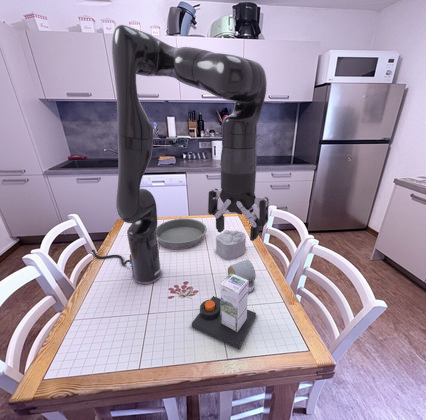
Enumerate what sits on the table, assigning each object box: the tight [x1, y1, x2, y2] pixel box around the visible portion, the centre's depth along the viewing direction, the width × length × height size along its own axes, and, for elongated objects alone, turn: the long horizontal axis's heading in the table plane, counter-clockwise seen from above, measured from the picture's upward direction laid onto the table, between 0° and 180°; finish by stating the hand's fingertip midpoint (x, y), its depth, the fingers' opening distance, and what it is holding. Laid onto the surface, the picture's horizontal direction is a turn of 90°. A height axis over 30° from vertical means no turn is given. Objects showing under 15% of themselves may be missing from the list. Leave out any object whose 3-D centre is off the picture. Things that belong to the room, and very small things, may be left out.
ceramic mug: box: [227, 259, 257, 294], centre depth 83 cm, size 11×8×8 cm
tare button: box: [205, 299, 215, 312], centre depth 70 cm, size 3×3×2 cm
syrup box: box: [219, 273, 250, 332], centre depth 65 cm, size 6×6×14 cm
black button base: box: [191, 295, 257, 350], centre depth 69 cm, size 16×12×4 cm
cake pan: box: [156, 218, 208, 250], centre depth 114 cm, size 25×25×4 cm
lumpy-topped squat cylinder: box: [215, 229, 247, 261], centre depth 103 cm, size 10×13×9 cm
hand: (236, 235), depth 56 cm, fingers open, 8 cm apart
